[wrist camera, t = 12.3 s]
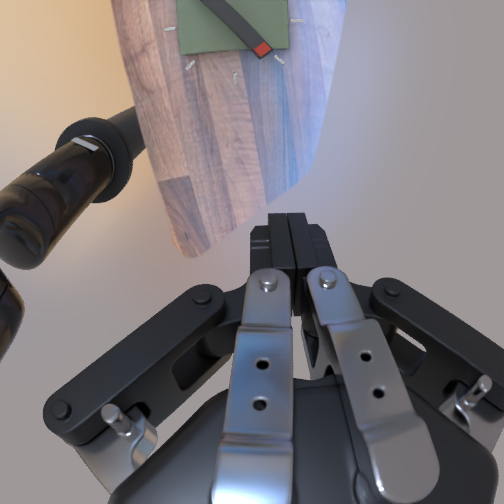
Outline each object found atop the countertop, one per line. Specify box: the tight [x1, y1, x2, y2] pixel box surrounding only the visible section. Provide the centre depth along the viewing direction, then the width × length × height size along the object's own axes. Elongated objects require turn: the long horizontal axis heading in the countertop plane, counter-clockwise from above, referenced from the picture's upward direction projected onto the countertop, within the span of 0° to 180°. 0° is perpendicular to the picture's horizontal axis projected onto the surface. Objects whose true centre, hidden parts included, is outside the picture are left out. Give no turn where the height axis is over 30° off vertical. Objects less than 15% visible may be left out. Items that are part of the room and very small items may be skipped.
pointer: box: [200, 0, 273, 59], centre depth 23 cm, size 11×2×5 cm, turn 40°
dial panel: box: [164, 0, 303, 84], centre depth 26 cm, size 15×15×3 cm
